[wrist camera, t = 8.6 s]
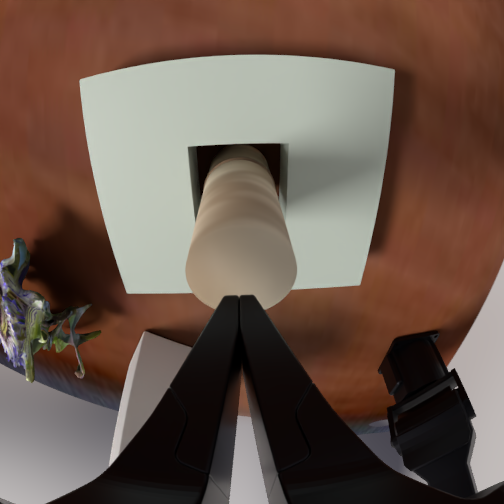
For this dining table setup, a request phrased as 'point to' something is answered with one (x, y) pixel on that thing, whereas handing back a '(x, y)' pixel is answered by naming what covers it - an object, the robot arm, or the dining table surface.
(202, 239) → the peg
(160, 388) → the milk carton
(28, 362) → the passion flower
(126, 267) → the board
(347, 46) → the dining table surface
